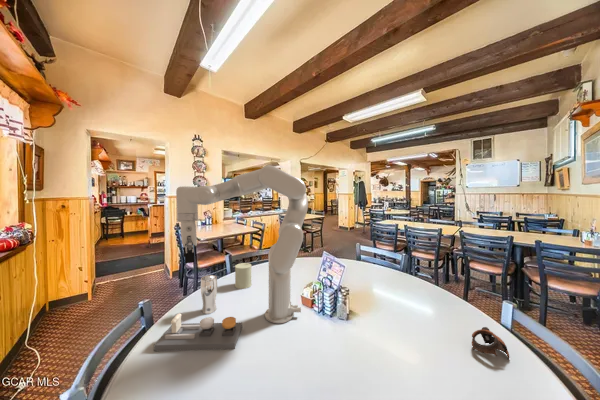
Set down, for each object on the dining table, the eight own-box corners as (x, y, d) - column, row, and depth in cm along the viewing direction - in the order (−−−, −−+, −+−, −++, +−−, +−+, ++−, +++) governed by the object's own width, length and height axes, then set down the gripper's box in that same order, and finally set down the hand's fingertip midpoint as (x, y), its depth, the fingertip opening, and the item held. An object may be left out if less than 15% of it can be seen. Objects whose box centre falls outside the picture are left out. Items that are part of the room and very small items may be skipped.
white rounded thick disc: (215, 323, 84) (215, 317, 84) (211, 331, 79) (211, 324, 79) (203, 324, 84) (202, 317, 84) (197, 332, 79) (197, 325, 79)
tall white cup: (211, 315, 96) (211, 281, 96) (197, 313, 98) (197, 280, 97) (220, 307, 103) (220, 275, 102) (207, 305, 105) (206, 274, 104)
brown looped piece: (518, 369, 69) (506, 347, 69) (482, 370, 74) (471, 350, 73) (502, 337, 80) (492, 318, 79) (472, 340, 84) (462, 322, 84)
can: (255, 284, 128) (255, 264, 128) (243, 290, 121) (242, 268, 120) (243, 280, 133) (243, 261, 133) (231, 286, 125) (231, 265, 125)
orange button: (237, 323, 84) (237, 316, 84) (234, 331, 80) (234, 324, 80) (224, 323, 84) (224, 316, 84) (220, 331, 79) (220, 324, 79)
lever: (184, 328, 84) (184, 312, 84) (177, 337, 79) (176, 320, 78) (176, 328, 84) (175, 312, 83) (168, 337, 78) (168, 320, 78)
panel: (242, 327, 88) (242, 319, 88) (234, 348, 76) (234, 339, 76) (172, 328, 87) (172, 320, 87) (154, 350, 75) (153, 341, 75)
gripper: (200, 219, 83) (201, 263, 84) (195, 214, 98) (196, 252, 99) (177, 220, 79) (179, 267, 80) (176, 215, 94) (177, 255, 95)
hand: (188, 259), depth 90 cm, fingers open, 9 cm apart
